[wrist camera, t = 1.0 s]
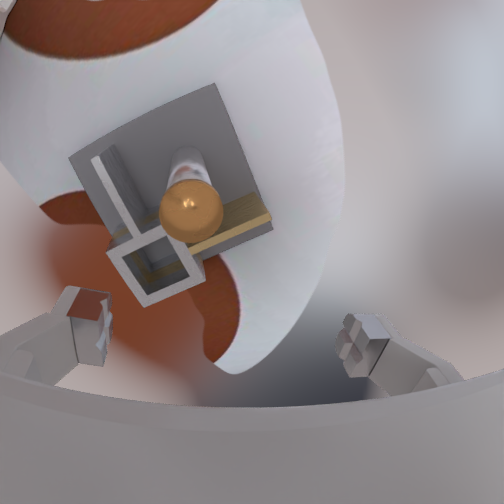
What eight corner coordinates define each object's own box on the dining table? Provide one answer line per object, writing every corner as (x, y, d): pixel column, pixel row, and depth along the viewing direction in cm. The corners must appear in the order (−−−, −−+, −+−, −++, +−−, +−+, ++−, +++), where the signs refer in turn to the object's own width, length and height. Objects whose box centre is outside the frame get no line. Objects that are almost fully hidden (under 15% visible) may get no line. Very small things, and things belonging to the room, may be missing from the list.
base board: (71, 156, 35) (68, 157, 34) (213, 83, 35) (214, 82, 34) (144, 282, 46) (144, 286, 45) (271, 226, 46) (273, 229, 45)
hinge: (82, 162, 35) (61, 177, 28) (215, 95, 35) (222, 95, 28) (147, 274, 45) (143, 307, 38) (265, 221, 45) (282, 247, 38)
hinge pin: (163, 153, 37) (147, 199, 21) (196, 137, 37) (207, 171, 21) (178, 184, 39) (176, 252, 23) (210, 169, 40) (233, 227, 23)
